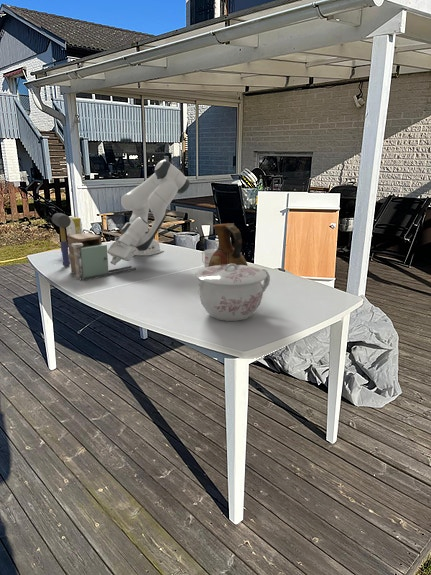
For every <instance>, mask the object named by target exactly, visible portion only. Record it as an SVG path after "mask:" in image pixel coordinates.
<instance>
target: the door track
mask: <svg viewBox="0 0 431 575" xmlns="http://www.w3.org/2000/svg"><path fill="white" fill-rule="evenodd" d="M136 270H137V268H136V267H132V266H131V265H127V266H123V267H117V268H113V269H108V271H109V273H105V274H100V275H95V276H90V277H85V278H84V280H83V281H84V282H85V281H89V280H93V279H99V278H102V277H107V276H112V275H116V274H121V273H127V272H131V271H136ZM81 279H82V278H81V276H80V280H81Z"/></svg>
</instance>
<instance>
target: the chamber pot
mask: <svg viewBox="0 0 431 575" xmlns="http://www.w3.org/2000/svg"><path fill="white" fill-rule="evenodd" d="M194 277H195V278H196V279H197V280H198V281H200V283H199V284H198V288H199V289H198V291H199V292H198V295H199V298H200V299H199V300H200V302H201V305H202V307H203V308H204V310H205V311H206V313H208V314H209V316H210V317H212V318H214V319H215V320H216V319H217V320H220V321H224V320H225V321H227V322H236V321H237V322H238V321H243V320H246V319H249V318H250V317H251V316H253V315H254V314H255V312H256V311H257V310H258V308H259V307H260V305H261V302H262V299H263V295H264V292H265V291H266V289H267V288H268V286H269V285H270V282H271V277H270V274H269V272H268V270H266V269H265V268H258V267H254V266H251V265H248V266H246V265H236V264H233V263H231V264H224V265H215V266H210V267H205V266H204V268H203V267H202V268H200V269H198V270H197V271H196V272H195V274H194ZM262 282H263V284H262Z"/></svg>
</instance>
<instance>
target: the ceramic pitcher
mask: <svg viewBox="0 0 431 575" xmlns="http://www.w3.org/2000/svg"><path fill="white" fill-rule="evenodd" d="M211 227H212V228H213V229H214V231H215V232H216V235H217V239H218V247H217V250H216V251H215V252H214V253H213V255H212V257H211V259H210V262H209V266H208V267H210V266H215V265H224V264H231V263H233V264H236V265H246V266H249V265H248V262H247V260H246V258H245V257H244V255H243V254H242V253H241V251H242V245H243V239H242V238H243V237H242V235H241V234H242V233H241V231H240V229H239V228H237V226H236V225H235V223H234V222H233V223H229V222H227V223H218V224H217V223H216V224H213V225H212V226H211ZM231 234H232V237H233V241H234V246H233V243H232V240H231V239H232V238H231Z"/></svg>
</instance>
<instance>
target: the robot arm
mask: <svg viewBox="0 0 431 575" xmlns="http://www.w3.org/2000/svg"><path fill="white" fill-rule="evenodd" d="M190 184H191V183H190V180H189V179H188V177H187V176H185V174H184V173H183V172H182V171H181V170H180V169H178V168H177V167H176V166H175V165H173V163H171V161H169V160H167V159H161V160H160V161H159V162H157V164H156V165H155V167H154V173H153V174H151V175H150V176H148V178H147V179H146V180H144V181H143V182H141V184H139V185H137V186H135V187H134V188H132V190H130V191H128V192H127V193H125V194H123V195H122V196H121V198H120V203H121V206H122V208H123V209H124V210H126V211H132V214H131V216H130V217H129V222H125V223H124V225H123V226H122V228H121V229H120V234H121V235H120V236H118V237H115V238H114V241H113V242H112V243H111V245H110V247H108V248H107V254H108V255H110V256H111V257H112V259H111V261H110V264H111V265H113V266H116V264H118V263H119V262H120V261H121V260H122V261H125V262H130V261H131V260H132V259H133V257H134V256H151V255H156V254H159V253H163V252H165V251H164V250H165V249H163V248H161V246H160V242H159V241H158V240H156V239H155V237H156V235H157V234H158V232H159V231H160V229H161V227H162V225H163V223H164V222H165V220H166V217H167V214H166V211H167V207H168V206H169V205H170V203H172V201H173V199H175V197H176V195H177V194H178V195H182V194H185V192H186V191H187V190H188V189H189V187H190ZM149 211H150V212H151V213H152V215H153V218H154V222H153V223H152V226H151V227H150V228H149V226H150V225H149V222H148V219H149V218H148V217H149Z"/></svg>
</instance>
